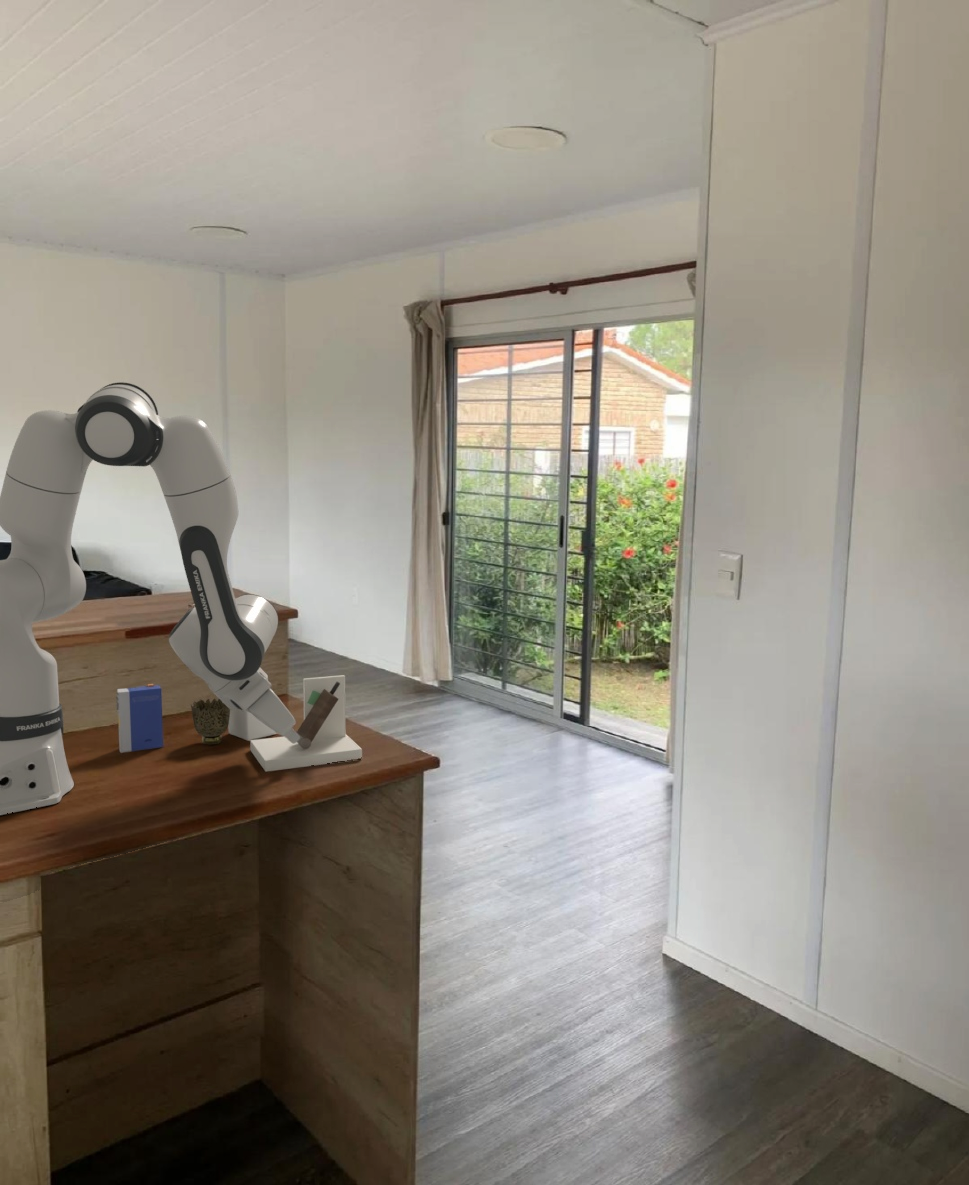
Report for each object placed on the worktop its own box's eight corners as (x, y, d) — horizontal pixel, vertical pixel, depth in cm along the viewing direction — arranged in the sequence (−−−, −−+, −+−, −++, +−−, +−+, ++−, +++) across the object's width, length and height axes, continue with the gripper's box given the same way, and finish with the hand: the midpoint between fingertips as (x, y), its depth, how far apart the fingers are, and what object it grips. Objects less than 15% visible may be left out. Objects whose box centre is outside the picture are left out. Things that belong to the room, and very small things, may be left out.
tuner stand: (265, 771, 173) (264, 695, 170) (250, 750, 184) (249, 678, 182) (362, 759, 180) (361, 686, 178) (341, 739, 192) (341, 671, 190)
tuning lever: (298, 746, 177) (338, 683, 179) (291, 738, 182) (330, 676, 183) (307, 750, 178) (346, 688, 179) (300, 742, 183) (338, 681, 184)
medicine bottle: (278, 734, 195) (277, 676, 193) (247, 741, 190) (246, 682, 188) (258, 726, 200) (257, 670, 198) (227, 733, 195) (226, 675, 193)
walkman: (160, 743, 188) (158, 683, 186) (163, 747, 185) (161, 686, 184) (117, 748, 184) (115, 687, 182) (120, 752, 182) (117, 690, 180)
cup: (225, 749, 185) (224, 708, 184) (187, 748, 185) (185, 707, 184) (236, 737, 192) (235, 698, 191) (199, 736, 192) (198, 697, 191)
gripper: (220, 692, 180) (270, 743, 184) (239, 705, 161) (295, 762, 165) (245, 668, 182) (295, 719, 185) (267, 679, 163) (322, 735, 167)
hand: (295, 740), depth 175 cm, fingers closed
